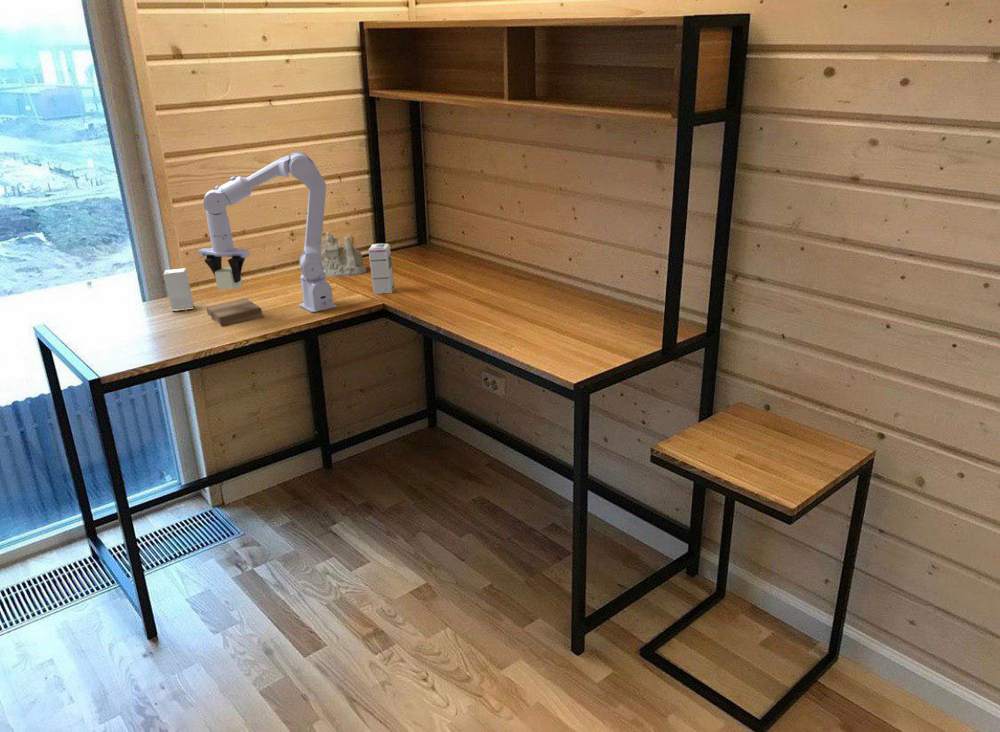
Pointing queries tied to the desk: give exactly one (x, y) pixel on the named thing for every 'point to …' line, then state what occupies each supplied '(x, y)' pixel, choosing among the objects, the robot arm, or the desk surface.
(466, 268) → the desk surface
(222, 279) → the white block
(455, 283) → the desk surface
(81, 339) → the desk surface
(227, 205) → the robot arm
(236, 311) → the walnut box
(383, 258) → the syrup box
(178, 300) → the skincare box
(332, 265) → the rocky castle sculpture
